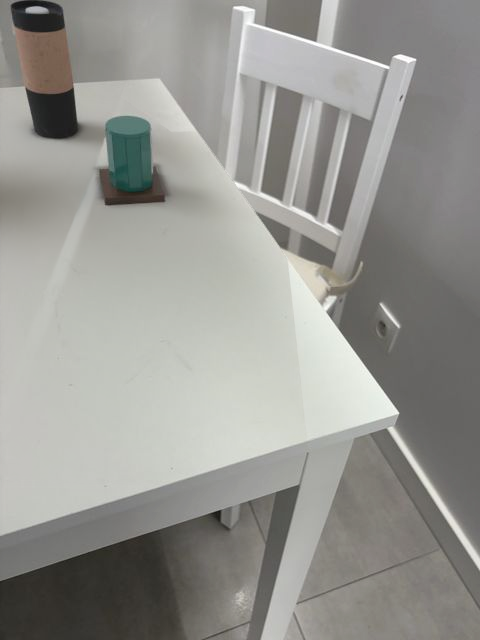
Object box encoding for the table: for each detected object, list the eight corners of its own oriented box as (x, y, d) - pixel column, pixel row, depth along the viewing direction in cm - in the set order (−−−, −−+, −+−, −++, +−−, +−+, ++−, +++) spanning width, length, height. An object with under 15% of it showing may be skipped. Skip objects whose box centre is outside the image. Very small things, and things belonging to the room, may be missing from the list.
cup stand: (105, 205, 83) (99, 156, 77) (99, 175, 89) (94, 128, 83) (164, 201, 85) (163, 154, 80) (155, 173, 91) (153, 127, 86)
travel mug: (27, 131, 97) (0, 1, 83) (68, 123, 101) (49, -3, 86) (46, 149, 93) (22, 16, 79) (88, 140, 97) (72, 11, 83)
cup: (107, 190, 83) (101, 132, 77) (114, 169, 88) (109, 113, 82) (150, 193, 84) (147, 136, 78) (155, 172, 89) (153, 117, 82)
